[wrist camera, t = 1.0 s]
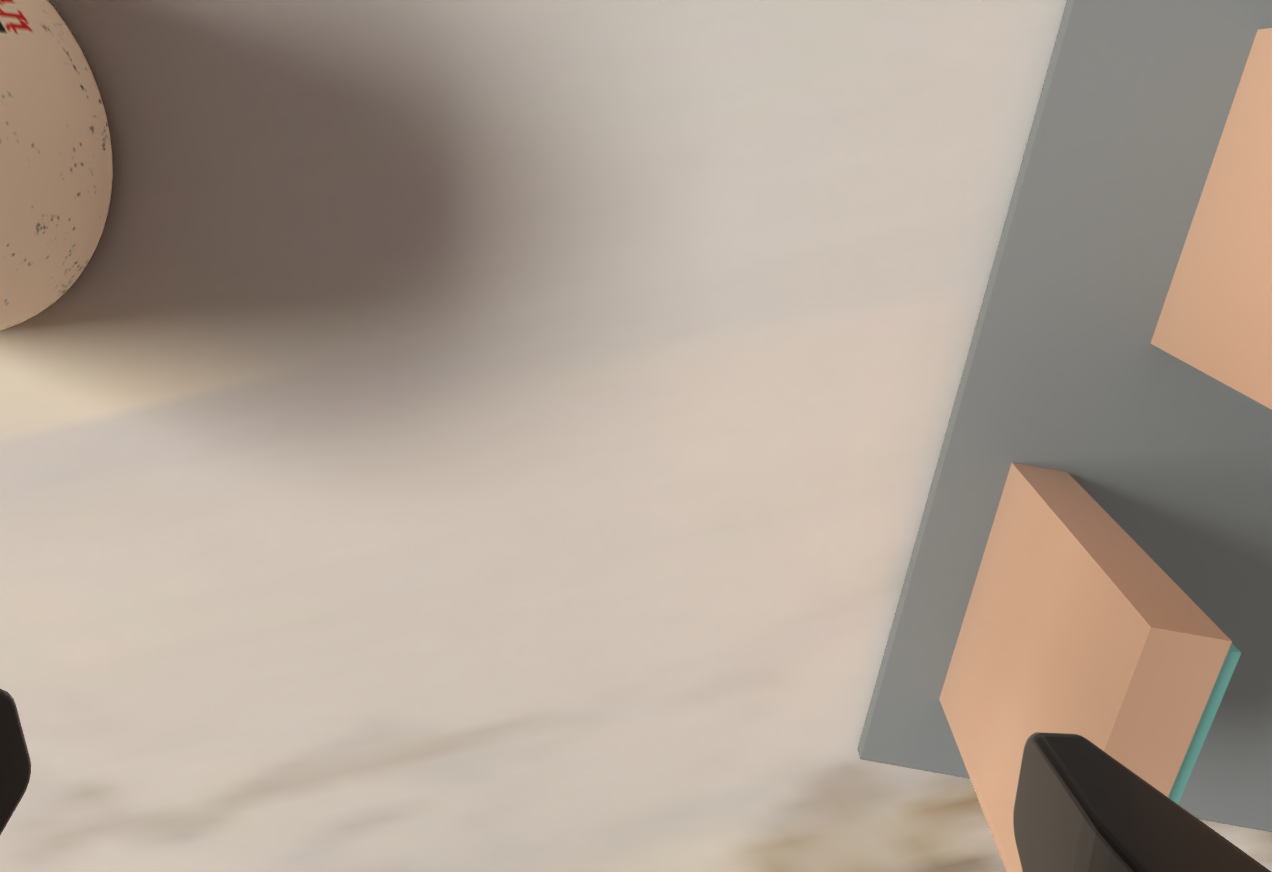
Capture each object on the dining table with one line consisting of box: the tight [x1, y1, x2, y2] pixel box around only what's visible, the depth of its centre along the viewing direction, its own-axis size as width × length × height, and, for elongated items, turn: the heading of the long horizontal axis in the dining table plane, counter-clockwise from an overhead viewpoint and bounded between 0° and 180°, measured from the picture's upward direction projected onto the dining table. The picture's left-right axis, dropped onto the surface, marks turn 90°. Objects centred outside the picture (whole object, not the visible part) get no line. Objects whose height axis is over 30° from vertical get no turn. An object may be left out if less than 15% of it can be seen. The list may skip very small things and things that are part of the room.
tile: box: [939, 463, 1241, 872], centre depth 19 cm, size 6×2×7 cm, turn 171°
